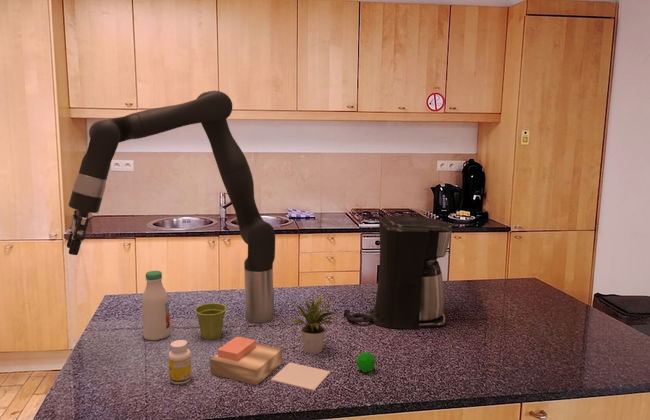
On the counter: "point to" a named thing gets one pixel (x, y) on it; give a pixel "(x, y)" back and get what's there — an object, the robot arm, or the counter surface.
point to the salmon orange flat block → (236, 348)
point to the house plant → (314, 325)
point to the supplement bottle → (180, 362)
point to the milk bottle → (155, 308)
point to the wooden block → (248, 365)
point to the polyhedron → (365, 362)
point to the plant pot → (211, 319)
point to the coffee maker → (409, 273)
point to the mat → (301, 376)
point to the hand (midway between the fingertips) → (71, 251)
